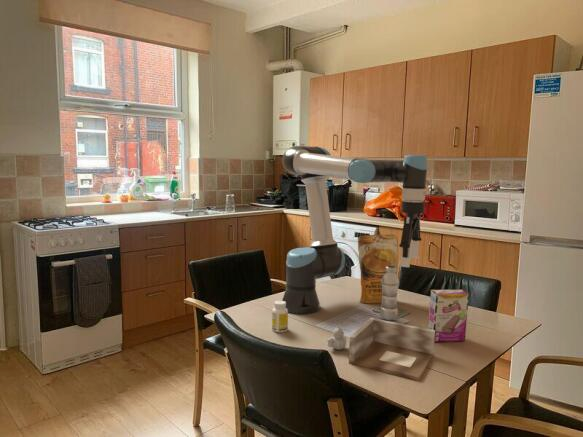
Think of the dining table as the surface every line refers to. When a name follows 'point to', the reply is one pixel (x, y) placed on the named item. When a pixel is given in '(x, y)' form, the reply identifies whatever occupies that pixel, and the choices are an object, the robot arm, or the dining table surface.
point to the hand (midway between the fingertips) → (409, 262)
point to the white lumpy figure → (337, 339)
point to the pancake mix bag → (375, 264)
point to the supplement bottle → (279, 317)
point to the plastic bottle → (389, 294)
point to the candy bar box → (448, 315)
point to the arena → (392, 348)
